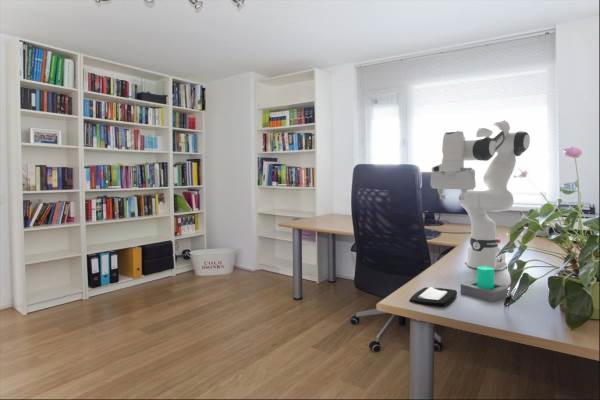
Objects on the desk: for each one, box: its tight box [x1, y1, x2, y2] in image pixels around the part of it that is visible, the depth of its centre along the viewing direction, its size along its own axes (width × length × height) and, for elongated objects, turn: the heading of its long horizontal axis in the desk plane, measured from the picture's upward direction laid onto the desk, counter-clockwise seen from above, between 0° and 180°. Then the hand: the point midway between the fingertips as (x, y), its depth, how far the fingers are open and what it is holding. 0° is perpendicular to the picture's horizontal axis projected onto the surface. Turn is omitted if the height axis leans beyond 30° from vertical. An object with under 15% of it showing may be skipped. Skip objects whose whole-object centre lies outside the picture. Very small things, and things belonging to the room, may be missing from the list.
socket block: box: [459, 279, 509, 303], centre depth 147 cm, size 13×13×4 cm
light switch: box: [409, 286, 458, 307], centre depth 143 cm, size 20×3×14 cm
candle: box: [476, 266, 496, 290], centre depth 146 cm, size 6×6×12 cm
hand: (451, 199), depth 166 cm, fingers open, 8 cm apart
